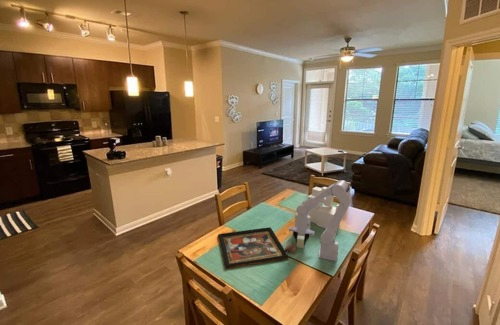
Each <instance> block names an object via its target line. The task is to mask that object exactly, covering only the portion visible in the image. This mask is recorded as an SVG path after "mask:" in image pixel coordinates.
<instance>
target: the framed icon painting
mask: <svg viewBox="0 0 500 325" xmlns="http://www.w3.org/2000/svg"><path fill="white" fill-rule="evenodd" d="M217 237H218V242H219V246H220V249H221V255H222V260H223V265H224V268H225V269H226V270H227V269H228V270H229V269H233V268H240V267H245V266H252V265H256V264H264V263H269V262H275V261H276V262H277V261H283V260H288V259H289V258H290V257H289V255H288V252H286V251H285V247H284V246H283V245H282V244H281V241H280V240H279V238H278V237H277V235H276V233H275V231H274V230H273V229H272V227H261V228H253V229H246V230H239V231H232V232H224V233H218V234H217Z"/></svg>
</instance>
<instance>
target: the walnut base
mask: <svg viewBox="0 0 500 325" xmlns="http://www.w3.org/2000/svg"><path fill="white" fill-rule="evenodd" d="M284 250H285V251H286V253H289V254H296V250H297V244H295V243H294V244H293V243H289V242H287V243H286V244H285V247H284Z"/></svg>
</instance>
